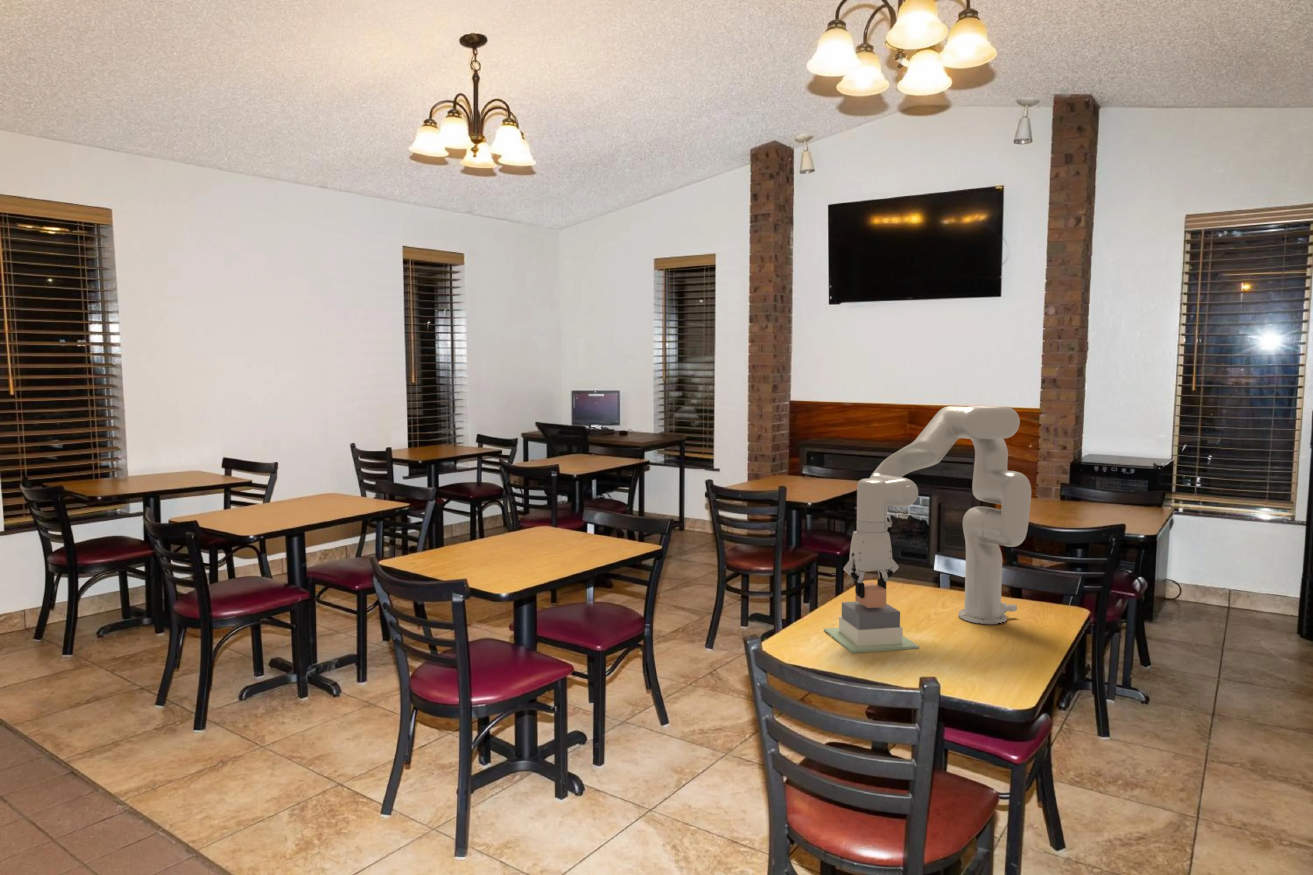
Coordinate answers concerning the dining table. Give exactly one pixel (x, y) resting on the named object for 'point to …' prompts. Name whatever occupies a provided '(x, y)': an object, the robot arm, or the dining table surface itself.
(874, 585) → the terracotta brick
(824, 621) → the dining table surface
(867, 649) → the stepped block pyramid
